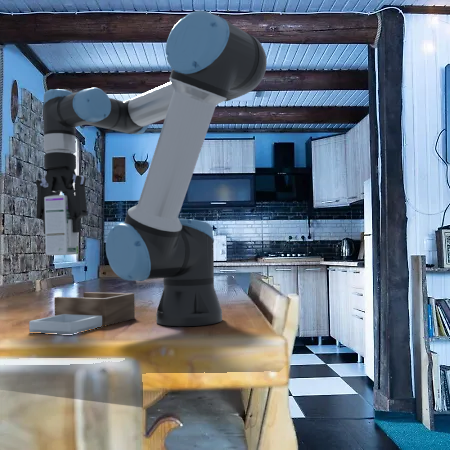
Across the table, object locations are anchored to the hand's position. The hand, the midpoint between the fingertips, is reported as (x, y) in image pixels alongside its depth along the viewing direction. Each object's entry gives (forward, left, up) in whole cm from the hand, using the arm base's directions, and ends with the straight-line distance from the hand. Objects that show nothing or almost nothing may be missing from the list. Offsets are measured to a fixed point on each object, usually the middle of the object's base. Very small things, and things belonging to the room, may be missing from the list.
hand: (61, 246), depth 123 cm
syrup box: (0, 0, -2) cm, 2 cm away
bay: (-10, 0, -18) cm, 20 cm away
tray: (-12, +12, -18) cm, 25 cm away
